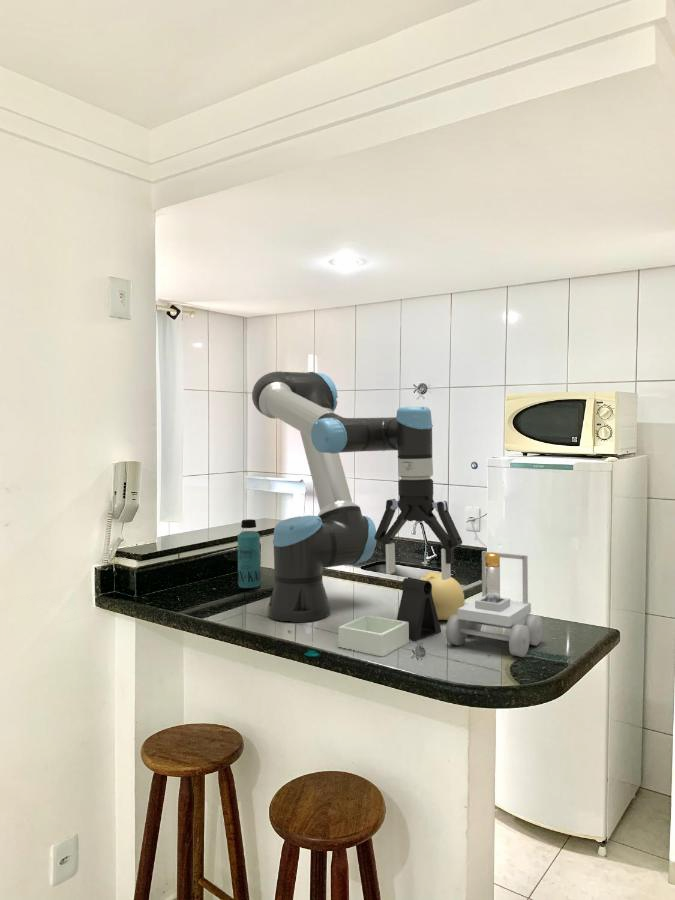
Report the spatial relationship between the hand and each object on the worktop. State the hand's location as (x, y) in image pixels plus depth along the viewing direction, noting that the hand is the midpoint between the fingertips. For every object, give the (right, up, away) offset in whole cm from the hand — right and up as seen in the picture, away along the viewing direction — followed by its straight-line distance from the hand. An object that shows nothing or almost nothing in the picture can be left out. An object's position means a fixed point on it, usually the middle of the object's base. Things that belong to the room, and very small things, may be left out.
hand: (417, 575), depth 151 cm
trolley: (+15, -13, -7) cm, 21 cm away
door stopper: (0, -13, +1) cm, 13 cm away
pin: (+14, -5, -8) cm, 17 cm away
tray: (-10, -13, -6) cm, 18 cm away
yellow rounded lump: (+6, -13, +13) cm, 19 cm away
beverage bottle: (-42, -12, +44) cm, 62 cm away
